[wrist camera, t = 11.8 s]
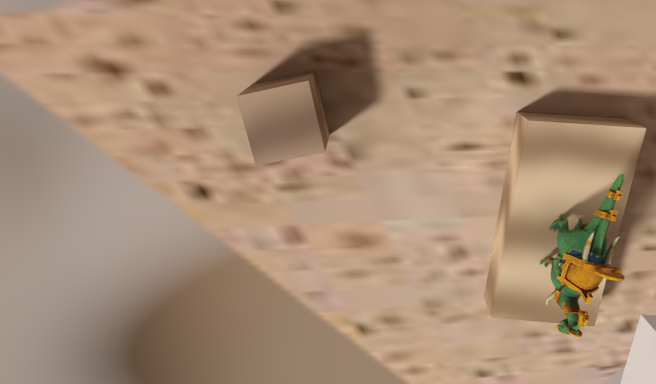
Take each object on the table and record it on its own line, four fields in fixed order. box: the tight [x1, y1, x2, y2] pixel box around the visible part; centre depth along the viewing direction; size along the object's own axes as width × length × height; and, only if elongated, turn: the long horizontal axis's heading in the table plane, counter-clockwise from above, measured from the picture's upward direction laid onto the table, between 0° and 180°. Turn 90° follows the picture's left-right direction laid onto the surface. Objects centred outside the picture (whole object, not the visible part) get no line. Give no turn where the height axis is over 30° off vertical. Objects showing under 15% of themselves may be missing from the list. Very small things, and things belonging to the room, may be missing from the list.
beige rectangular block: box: [484, 112, 646, 326], centre depth 41 cm, size 16×8×3 cm, turn 177°
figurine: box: [540, 174, 624, 337], centre depth 36 cm, size 3×12×8 cm, turn 171°
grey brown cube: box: [237, 71, 329, 166], centre depth 39 cm, size 5×5×5 cm
